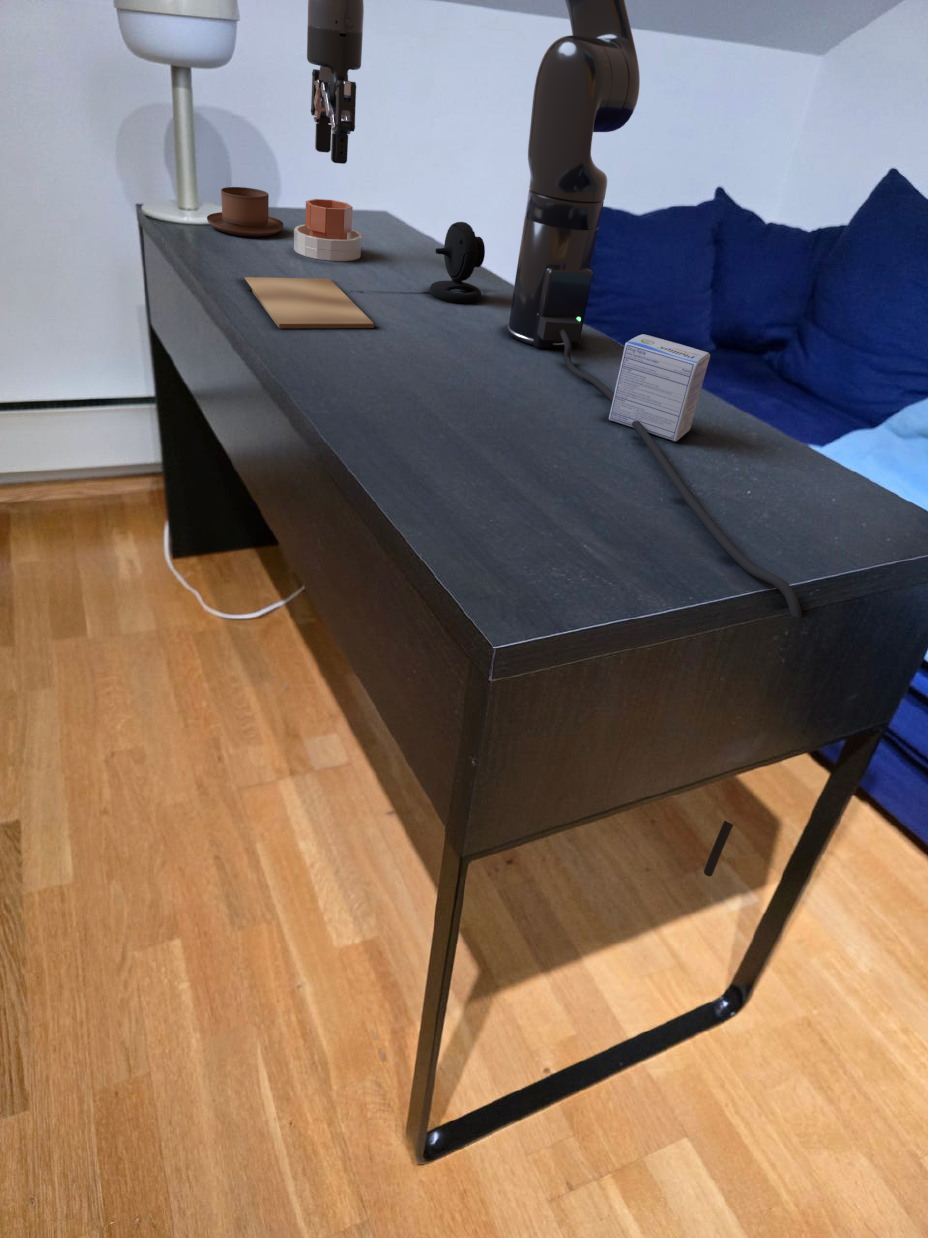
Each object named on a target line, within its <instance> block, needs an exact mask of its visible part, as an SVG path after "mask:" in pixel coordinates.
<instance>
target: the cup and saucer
mask: <svg viewBox="0 0 928 1238" xmlns="http://www.w3.org/2000/svg"><path fill="white" fill-rule="evenodd" d="M220 197H221V211H220V212H213V213H210V214H208V215H207V216H206V220H207V222H208V224H209V225H210V226H211V227H212V228H213V229H215V230H216V231H220V232H222V233H225V234H229V235H232V236H238V237H249V238H260V237H268V236H273V235H275V234H278V233H279V232H280V231H281V230H282V229H284V222H283V221H282V220H281V219H278V218H276V217H273V216H270V215H269V205H270V204H269V203H270V202H269V201H270V200H269V199H270V198H269V197H270V195H269V193H268V192H267V191H266V190H265V191H264V190H263V189H258V188H252V187H245V186H227V187H223V188H221V189H220Z"/></svg>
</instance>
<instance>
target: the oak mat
mask: <svg viewBox="0 0 928 1238" xmlns="http://www.w3.org/2000/svg"><path fill="white" fill-rule="evenodd" d="M244 279H245V281H246V282H247V284H248V285H249V286H250V291H251V292H252V294H253V295H254V296H255V297H256V299H257V301H259V304H260V305H261V306H262V307H263V309H264V310H265V311H266V313H267V314H268V316H270V318H271V319H272V320H273V322H274V324H275V325H276V326H277V327H278V329H281V330H282V329H374V328H375V323H374V322H373V321H372V320H371V318H369V317H368V316H367V315H366V314H365V312H363V311H362V309H361V308H359V306H357V305H356V304H355V302H353V301H352V300H351V298H350V297H349V296H347V295H346V293H345V292H344V291H342V290H341V289H340V287H339V286H337V284H336V283H334V281H332V279H331V278H323V277H322V278H320V277H319V278H317V277H316V278H314V277H262V276H261V277H259V276H257V277H256V276H254V277H253V276H245V277H244Z"/></svg>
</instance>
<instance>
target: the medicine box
mask: <svg viewBox="0 0 928 1238" xmlns="http://www.w3.org/2000/svg"><path fill="white" fill-rule="evenodd" d="M710 359H711V354H710V353H709V352H708V351H704V350H701V349H697V348H695V347H691V346H687V345H685V344H681V343H679V342H678V343H677V342H674V341H670V340H666V339H663V338H659V337H656V336H652V335H648V334H643V333H642V334H640V335H639V334H638V335H637V336H635V337H633V338H631V339H629V340H628V341H626V342H625V344H624V348H623V353H622V358H621V362H620V365H619V371H618V376H617V379H616V384H615V388H614V392H613V393H614V398H613V402H611V407H610V412H609V415H608V420H609V421H611V422H614V423H616V424H617V423H618V424H621V425H623V426H625V427H630V428H633V429H635V428H634V427H633V426H632V422H633V421H638V422H640V423H641V424H642V426H643V427H644V428H645V430H646V431H647V432H648V434H651V435H654V436H656V437H660V438H662V439H666V440H668V441H669V440H670V441H672V442H675V443H676V442H678V441H679V440H680V439H681V438H682V437H684V436H685V435H686V434H687V433H688V432H689V431H691V428H692V424H693V422H694V421H693V420H694V417H695V413H696V409H697V406H698V401H699V398H700V394H701V391H702V388H703V384H704V380H705V376H706V372H707V369H708V365H709V362H710Z"/></svg>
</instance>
